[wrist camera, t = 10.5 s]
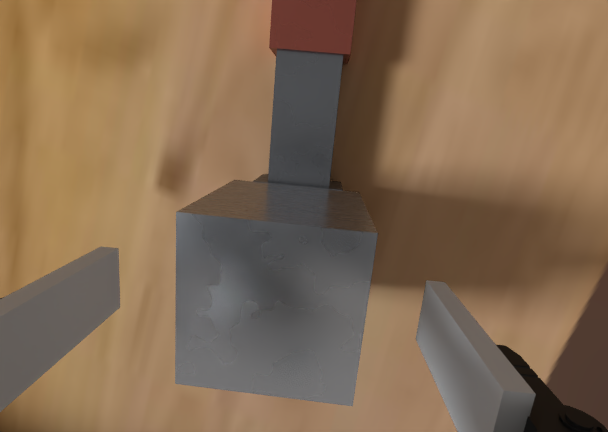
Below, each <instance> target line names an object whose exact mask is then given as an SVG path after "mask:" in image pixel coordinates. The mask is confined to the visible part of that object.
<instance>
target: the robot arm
mask: <svg viewBox="0 0 608 432" xmlns="http://www.w3.org/2000/svg"><path fill="white" fill-rule="evenodd" d="M119 308H120V286H119V251H118V248H110V247H99V248H97V249H95V250H93V251H91V252H90V253H88V254H86V255H84V256H82V257H80V258H78V259H76V260H74V261H72V262H70V263H69V264H67V265H65V266H63V267H61V268H59V269H57V270H55V271H53V272H51V273H49V274H48V275H46V276H44V277H42V278H40V279H38V280H36V281H34V282H32V283H30V284H28V285H27V286H25V287H23V288H21V289H19V290H17V291H15V292H13V293H11V294H9V295H7V296H6V297H3V298H0V412H1V411H2V410H3V409H4V408H5V407H6V406H8V405H9V404H10V403H11V402H12V401H13V400H14V399H16V398H17V397H18V396H19V395H20V394H21V393H22V392H24V391H25V390H26V389H27V388H28V387H29V386H30V385H32V384H33V383H34V382H35V381H36V380H37V379H38V378H40V377H41V376H42V375H43V374H44V373H45V372H46V371H48V370H49V369H50V368H51V367H52V366H53V365H54V364H56V363H57V362H58V361H59V360H60V359H61V358H63V357H64V356H65V355H66V354H67V353H68V352H69V351H71V350H72V349H73V348H74V347H75V346H76V345H77V344H79V343H80V342H81V341H82V340H83V339H84V338H85V337H87V336H88V335H89V334H90V333H91V332H92V331H93V330H95V329H96V328H97V327H98V326H99V325H100V324H101V323H103V322H104V321H105V320H106V319H107V318H108V317H109V316H111V315H112V314H113V313H114V312H115V311H116V310H117V309H119ZM416 341H417V343H418V345H419V347H420V349H421V352H422V354H423V356H424V358H425V361H426V363H427V365H428V367H429V369H430V372H431V374H432V376H433V378H434V380H435V383H436V385H437V387H438V389H439V391H440V394H441V396H442V398H443V400H444V403H445V405H446V407H447V409H448V411H449V414H450V416H451V418H452V420H453V422H454V425H455V427H456V429H457V431H458V432H608V430H607V429H606V428H605V426H604V425H602V424H601V423H600V422H599V421H597V420H596V419H595V418H593V417H592V416H590V415H588V414H586V413H585V412H583V411H581V410H578V409H576V408H573V407H570V406H566V405H563V404H562V403H561V402H560V400H559V399H558V398H557V397H556V396H555V395H554V394H553V392H552V391H551V390H550V389H549V388H548V387H547V386H546V385H545V383H544V382H543V381H542V380H541V379H540V378H538V375H537V374H536V373H535V372H534V371H533V370H532V369H530V366H529V365H528V364H527V363H526V362H525V361H524V360H523V358H522V357H521V356H520V355H518V354H517V353H515V352H514V351H512V350H511V349H510V348H508V347H507V346H503V345H496V344H495V343H494V342H493V341H492V340H491V338H490V337H489V336H488V335H487V333H486V332H485V331H484V330H483V328H482V327H481V326H480V325H479V324H478V322H477V321H476V320H475V319H474V317H473V316H472V315H471V314H470V312H469V311H468V310H467V309H466V308H465V306H464V305H463V304H462V303H461V301H460V300H459V299H458V298H457V297H456V295H455V294H454V293H453V292H452V290H451V289H450V288H449V287H448V285H447V284H446V283H445V282H438V281H429V280H426V285H425V291H424V296H423V302H422V307H421V313H420V318H419V324H418V329H417V335H416Z"/></svg>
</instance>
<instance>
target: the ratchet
mask: <svg viewBox="0 0 608 432" xmlns="http://www.w3.org/2000/svg"><path fill="white" fill-rule="evenodd" d="M355 9H356V0H272V13H271V29H270V45H269V48H270V49H271V50H272V52H273V53H274V54H275V56H276V70H275V85H274V100H273V115H272V129H271V144H270V159H269V174H268V175H264V174H263V175H261V176H260V177H258V178H257V179H256V180H254V181H253V182H262V183H272V184H282V185H292V186H302V187H312V188H322V189H331V190H341V191H342V185H341V182H335V181H330V173H331V164H332V155H333V146H334V137H335V127H336V118H337V109H338V100H339V90H340V81H341V72H342V63H345V64H348V61H349V57H350V53H351V44H352V36H353V27H354V18H355Z"/></svg>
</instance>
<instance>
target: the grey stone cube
mask: <svg viewBox="0 0 608 432" xmlns="http://www.w3.org/2000/svg"><path fill="white" fill-rule="evenodd" d="M377 236H378V232H377V230H376V228H375V226H374V224H373V221H372V219H371V217H370V215H369V213H368V211H367V208H366V206H365V204H364V202H363V200H362V197H361V195H360V193H359V192H351V191H341V190H331V189H322V188H312V187H302V186H292V185H282V184H272V183H262V182H252V181H242V180H233V181H231V182H229V183H228V184H226V185H224V186H222V187H220V188H219V189H217V190H215V191H213V192H211V193H210V194H208V195H206V196H204V197H202V198H200V199H199V200H197V201H195V202H193V203H191V204H190V205H188V206H186V207H184V208H182V209H181V210H179V211H177V212H176V353H175V384H182V385H190V386H198V387H205V388H213V389H221V390H229V391H237V392H245V393H253V394H261V395H268V396H276V397H284V398H292V399H300V400H308V401H316V402H323V403H331V404H339V405H347V406H353V400H354V393H355V386H356V379H357V372H358V366H359V359H360V352H361V345H362V338H363V332H364V325H365V318H366V311H367V304H368V297H369V291H370V284H371V277H372V270H373V263H374V256H375V250H376V243H377Z"/></svg>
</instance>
